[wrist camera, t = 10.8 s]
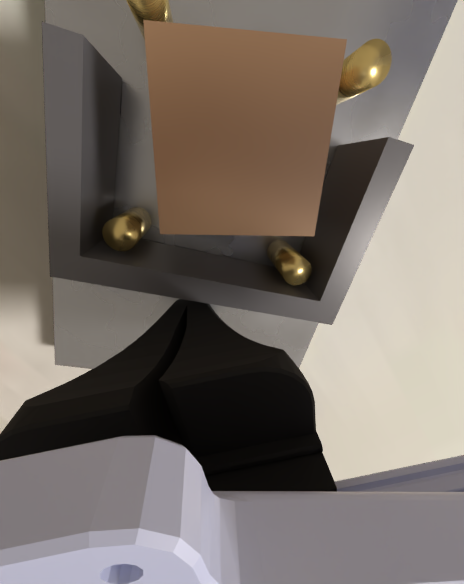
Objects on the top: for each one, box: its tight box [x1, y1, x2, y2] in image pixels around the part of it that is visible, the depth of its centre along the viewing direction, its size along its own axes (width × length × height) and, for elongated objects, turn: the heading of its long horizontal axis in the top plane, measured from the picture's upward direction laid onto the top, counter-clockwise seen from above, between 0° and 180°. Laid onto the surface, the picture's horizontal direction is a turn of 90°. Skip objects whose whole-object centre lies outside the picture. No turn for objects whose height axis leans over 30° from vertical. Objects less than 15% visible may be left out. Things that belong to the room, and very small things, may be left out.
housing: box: [42, 22, 414, 325], centre depth 9 cm, size 6×9×3 cm, turn 76°
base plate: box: [45, 0, 457, 369], centre depth 9 cm, size 19×12×4 cm, turn 166°
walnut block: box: [143, 20, 347, 236], centre depth 8 cm, size 4×4×4 cm
